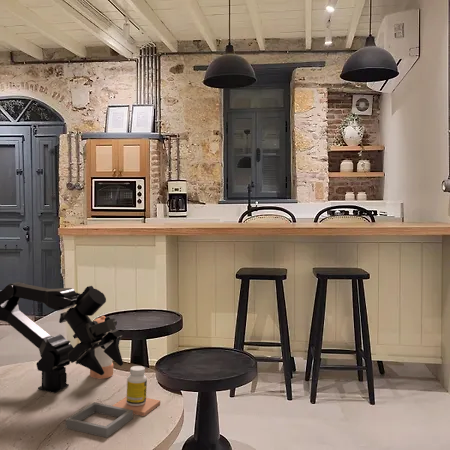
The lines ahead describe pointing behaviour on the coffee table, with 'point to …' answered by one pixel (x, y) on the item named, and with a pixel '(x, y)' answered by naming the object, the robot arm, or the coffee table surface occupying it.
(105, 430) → the grey square frame
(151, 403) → the coaster
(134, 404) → the supplement bottle
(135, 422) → the coffee table surface
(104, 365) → the pepper shaker
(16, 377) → the coffee table surface
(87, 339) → the robot arm
